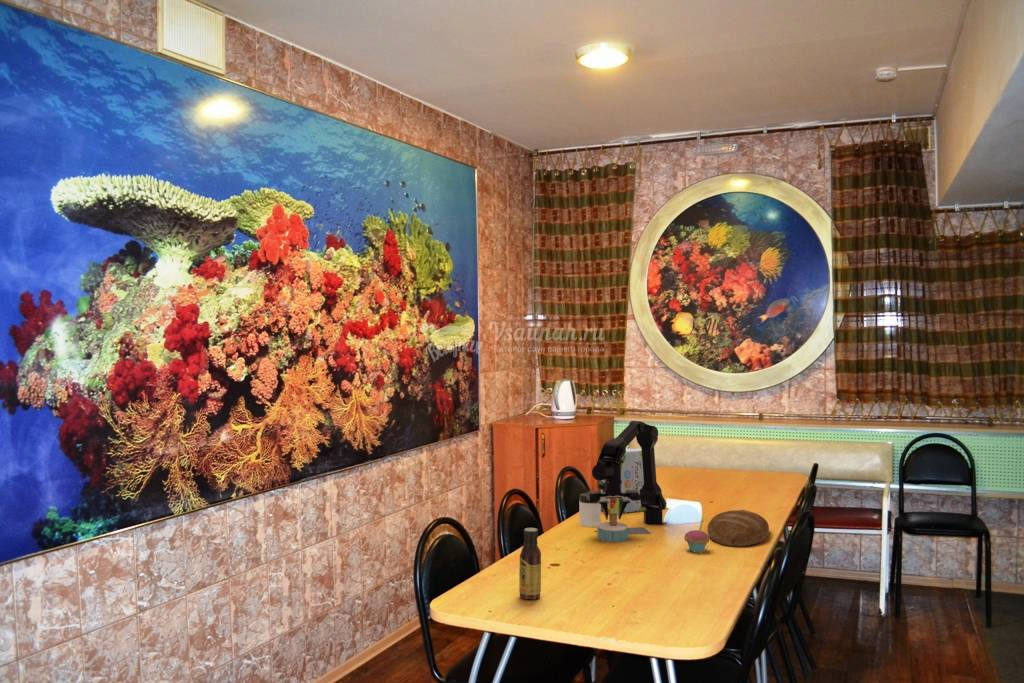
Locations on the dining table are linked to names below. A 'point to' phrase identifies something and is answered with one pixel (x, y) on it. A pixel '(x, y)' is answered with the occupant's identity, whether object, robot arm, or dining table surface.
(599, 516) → the jar
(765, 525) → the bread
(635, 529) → the mat
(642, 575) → the dining table surface
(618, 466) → the robot arm
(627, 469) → the snack box
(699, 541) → the cupcake
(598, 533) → the bowl
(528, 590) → the sauce bottle
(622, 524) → the lid
